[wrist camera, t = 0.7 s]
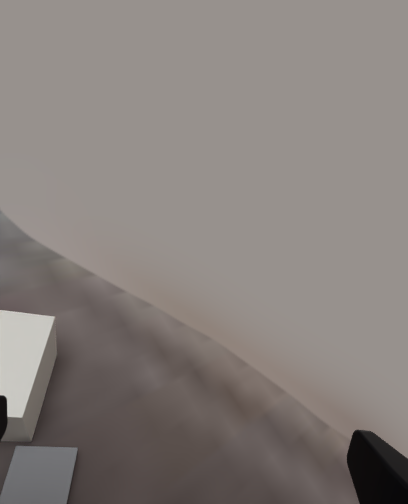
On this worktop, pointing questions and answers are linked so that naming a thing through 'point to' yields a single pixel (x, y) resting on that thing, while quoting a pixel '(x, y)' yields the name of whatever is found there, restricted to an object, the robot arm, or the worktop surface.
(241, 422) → the worktop surface
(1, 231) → the worktop surface
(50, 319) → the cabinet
